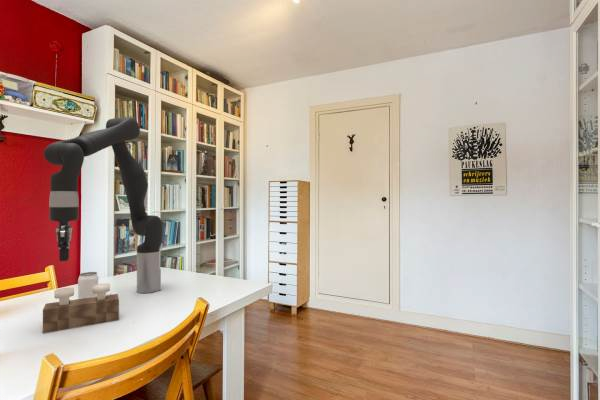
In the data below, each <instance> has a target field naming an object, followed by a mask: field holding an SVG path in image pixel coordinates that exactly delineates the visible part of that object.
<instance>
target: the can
mask: <svg viewBox="0 0 600 400" xmlns="http://www.w3.org/2000/svg"><path fill="white" fill-rule="evenodd" d="M96 284H99V275H98V272H97V271H88V272H82V273H80V274H79V277H78V280H77V299H83V298H90V297H97V293H92V286H93V285H96Z"/></svg>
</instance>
